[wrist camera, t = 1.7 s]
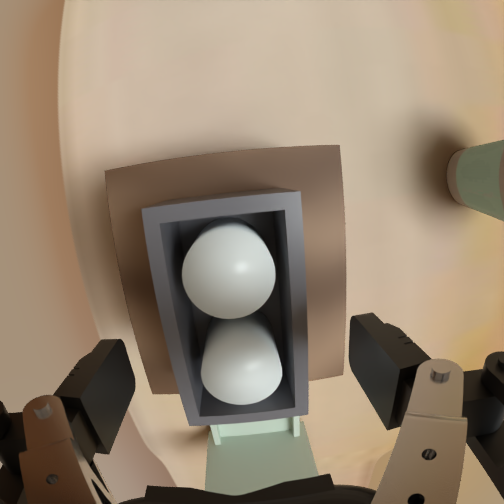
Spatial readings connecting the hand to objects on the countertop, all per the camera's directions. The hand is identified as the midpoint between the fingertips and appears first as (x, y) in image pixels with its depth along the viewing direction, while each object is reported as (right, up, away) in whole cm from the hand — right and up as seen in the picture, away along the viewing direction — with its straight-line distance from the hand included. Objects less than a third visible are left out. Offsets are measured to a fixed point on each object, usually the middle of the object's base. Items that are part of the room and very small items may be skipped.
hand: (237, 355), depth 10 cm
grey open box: (0, +1, +6) cm, 6 cm away
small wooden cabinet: (-1, +4, +16) cm, 16 cm away
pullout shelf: (0, -10, +18) cm, 21 cm away
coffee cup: (+22, +11, +15) cm, 29 cm away
